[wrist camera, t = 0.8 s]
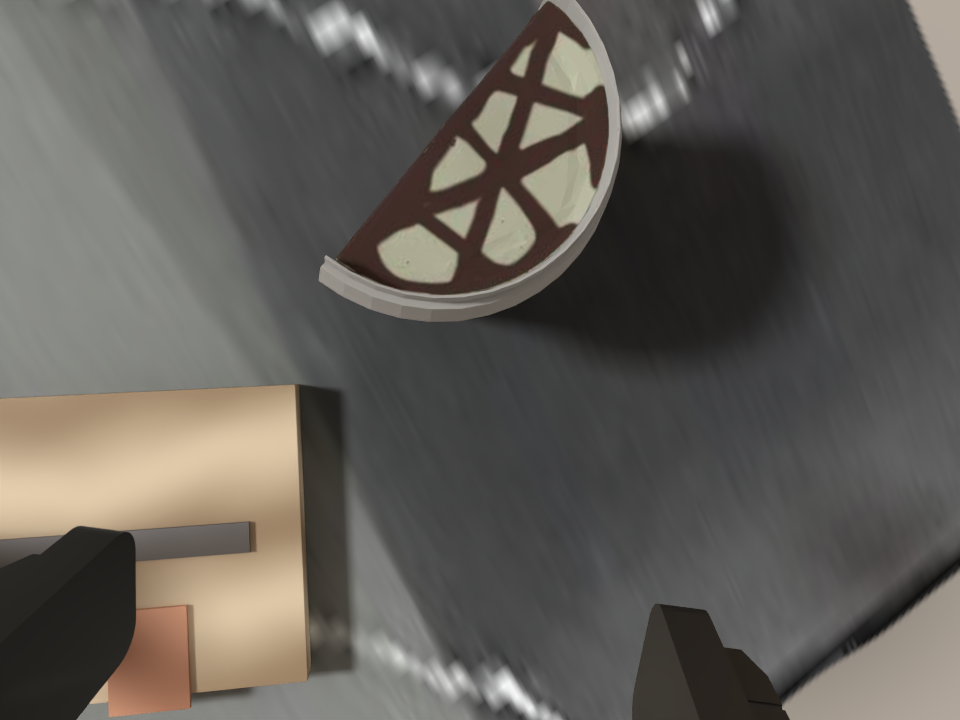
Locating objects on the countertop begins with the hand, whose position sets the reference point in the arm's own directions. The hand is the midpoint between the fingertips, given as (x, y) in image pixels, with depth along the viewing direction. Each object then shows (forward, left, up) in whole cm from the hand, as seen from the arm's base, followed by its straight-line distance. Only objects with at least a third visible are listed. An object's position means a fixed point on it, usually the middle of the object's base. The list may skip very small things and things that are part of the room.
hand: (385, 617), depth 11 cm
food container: (-9, +5, -20) cm, 23 cm away
